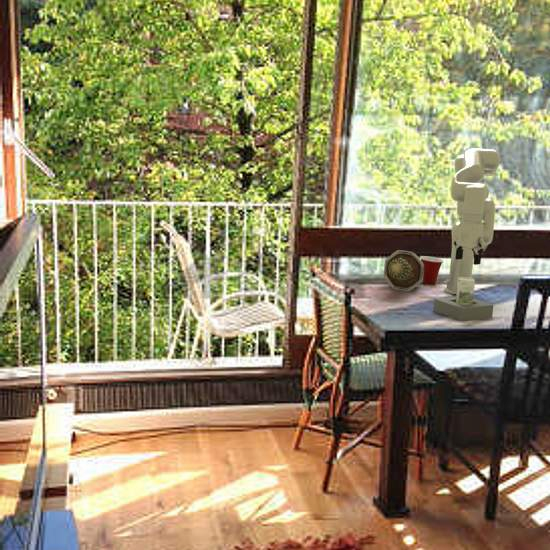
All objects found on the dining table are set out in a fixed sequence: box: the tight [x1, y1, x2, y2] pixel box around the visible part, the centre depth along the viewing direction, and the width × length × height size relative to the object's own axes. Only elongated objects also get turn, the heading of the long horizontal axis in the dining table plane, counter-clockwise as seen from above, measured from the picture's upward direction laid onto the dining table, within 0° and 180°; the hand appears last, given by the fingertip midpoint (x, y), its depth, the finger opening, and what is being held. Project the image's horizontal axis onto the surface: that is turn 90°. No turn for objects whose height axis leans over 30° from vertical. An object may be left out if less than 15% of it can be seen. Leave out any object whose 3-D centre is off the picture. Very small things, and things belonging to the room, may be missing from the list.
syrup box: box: [455, 277, 476, 305], centre depth 299 cm, size 6×6×14 cm
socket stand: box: [432, 295, 494, 322], centre depth 300 cm, size 16×16×5 cm
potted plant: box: [383, 249, 424, 292], centre depth 334 cm, size 18×18×30 cm
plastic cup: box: [419, 255, 444, 286], centre depth 353 cm, size 11×11×12 cm
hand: (467, 261), depth 297 cm, fingers open, 9 cm apart
